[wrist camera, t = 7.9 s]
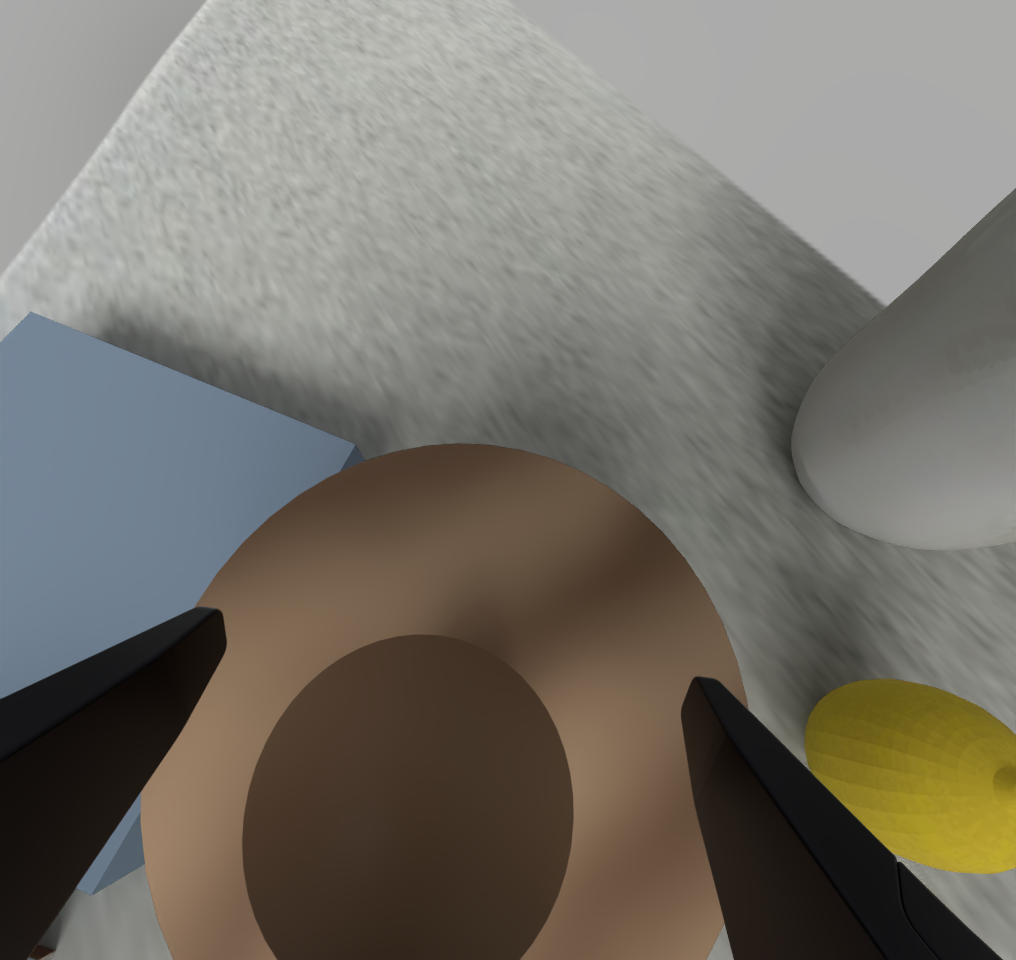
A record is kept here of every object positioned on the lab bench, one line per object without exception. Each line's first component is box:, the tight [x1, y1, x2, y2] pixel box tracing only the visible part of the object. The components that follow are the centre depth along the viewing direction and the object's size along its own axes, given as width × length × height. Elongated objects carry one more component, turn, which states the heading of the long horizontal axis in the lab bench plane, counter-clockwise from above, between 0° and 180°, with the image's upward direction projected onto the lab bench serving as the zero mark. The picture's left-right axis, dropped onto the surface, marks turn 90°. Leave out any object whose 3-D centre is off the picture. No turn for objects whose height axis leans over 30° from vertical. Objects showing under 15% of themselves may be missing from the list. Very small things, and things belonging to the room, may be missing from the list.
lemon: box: [805, 679, 1016, 874], centre depth 17 cm, size 6×6×8 cm
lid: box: [141, 443, 748, 960], centre depth 9 cm, size 16×16×10 cm
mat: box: [0, 312, 365, 896], centre depth 20 cm, size 17×17×3 cm
